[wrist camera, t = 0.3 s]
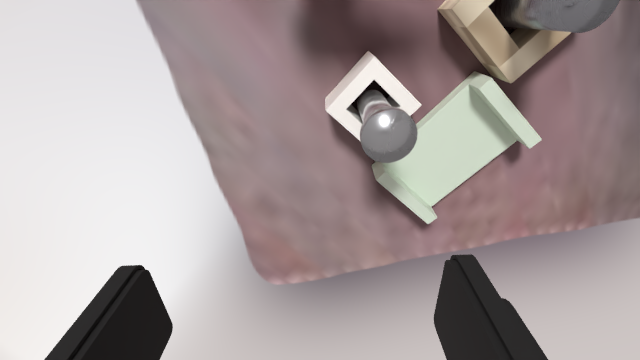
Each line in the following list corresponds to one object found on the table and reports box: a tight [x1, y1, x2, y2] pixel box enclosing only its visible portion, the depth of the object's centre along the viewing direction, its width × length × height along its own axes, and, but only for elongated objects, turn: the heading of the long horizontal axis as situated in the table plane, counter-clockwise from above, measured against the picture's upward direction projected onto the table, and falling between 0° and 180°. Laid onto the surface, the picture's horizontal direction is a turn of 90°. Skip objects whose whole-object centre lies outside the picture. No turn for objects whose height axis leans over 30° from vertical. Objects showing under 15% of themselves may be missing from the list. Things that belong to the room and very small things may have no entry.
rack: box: [371, 71, 542, 224], centre depth 37 cm, size 16×10×4 cm, turn 138°
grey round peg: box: [488, 0, 619, 33], centre depth 26 cm, size 4×4×11 cm
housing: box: [325, 51, 421, 141], centre depth 33 cm, size 7×7×5 cm
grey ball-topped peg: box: [357, 90, 418, 163], centre depth 28 cm, size 4×4×10 cm
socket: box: [438, 0, 571, 83], centre depth 29 cm, size 10×10×4 cm
